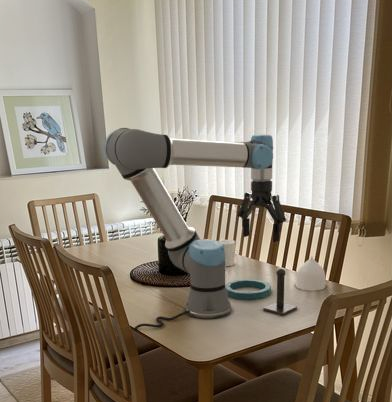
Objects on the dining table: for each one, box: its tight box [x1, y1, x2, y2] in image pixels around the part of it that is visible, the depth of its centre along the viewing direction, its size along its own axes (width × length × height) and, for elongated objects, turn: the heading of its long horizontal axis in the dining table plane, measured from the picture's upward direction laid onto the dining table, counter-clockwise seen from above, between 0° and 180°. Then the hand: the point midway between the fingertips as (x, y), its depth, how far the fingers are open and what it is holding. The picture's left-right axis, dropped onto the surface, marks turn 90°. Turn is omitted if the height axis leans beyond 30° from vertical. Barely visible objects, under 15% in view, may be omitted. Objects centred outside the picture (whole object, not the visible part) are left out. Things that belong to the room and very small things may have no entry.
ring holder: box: [262, 267, 298, 317], centre depth 181 cm, size 8×8×14 cm
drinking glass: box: [217, 239, 236, 267], centre depth 236 cm, size 8×8×10 cm
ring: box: [225, 278, 272, 301], centre depth 202 cm, size 17×17×2 cm
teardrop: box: [295, 255, 326, 292], centre depth 205 cm, size 11×11×12 cm
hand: (260, 238), depth 201 cm, fingers open, 13 cm apart
